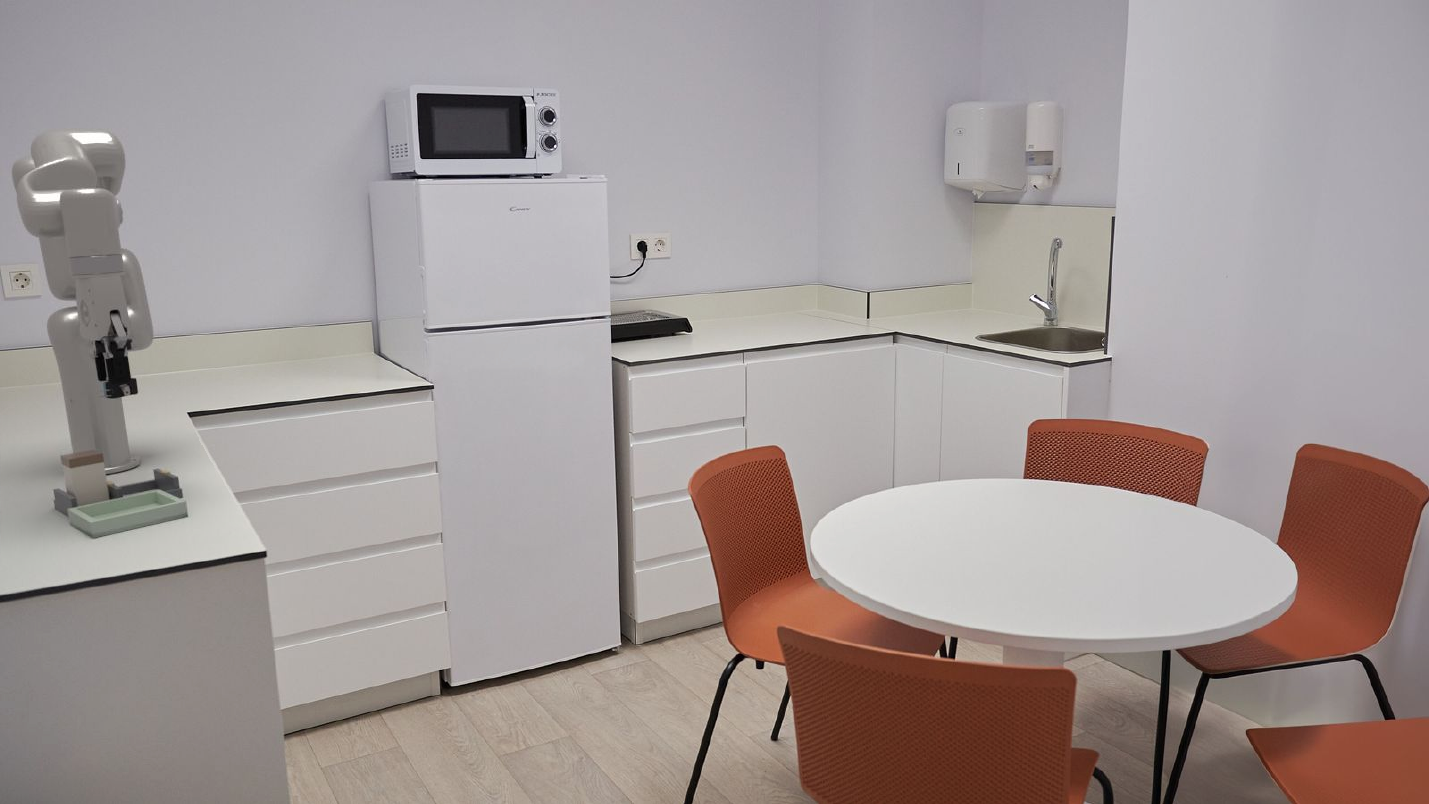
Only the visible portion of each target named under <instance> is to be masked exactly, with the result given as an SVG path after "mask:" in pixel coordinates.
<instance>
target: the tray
mask: <svg viewBox="0 0 1429 804" xmlns="http://www.w3.org/2000/svg"><path fill="white" fill-rule="evenodd" d="M67 510H68V516H67V517H68V521H69V525H70V526H72V527H74V528H75V529H77V530H79V531H80V532H82V533H84V534H86V535H87V536H89V537H90V538H92V539H96V538H101V537H105V536H108V535H109V536H110V535H113V534H117V533H121V532H122V533H123V532H126V531H130V530H131V531H132V530H134V529H139V528H145V527H147V526H152V525H156V524H157V525H158V524H160V523H165V522H169V521H173V520H178V519H183V518H186V517H187V518H188V517H189V513H188V507H187V501H186V500H184V499H182V498H177V497H175V496H173V495H171V494H168V493H166V492H164V491H162V490H160V489H159V490H158V489H156V490H155V489H154V490H150V491H144V492H141V493H140V492H139V493H137V494H130V495H128V496H127V495H125V496H123V497H122V498H117V499H112V500H107V501H103V502H98V503H93V504H88V505H84V506H79V507H74V508H70V509H67Z"/></svg>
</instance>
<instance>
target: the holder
mask: <svg viewBox="0 0 1429 804" xmlns="http://www.w3.org/2000/svg"><path fill="white" fill-rule="evenodd" d="M153 476H154V477H153V479H149V480H144V481H139V482H134V483H130V484H124V485H120V486H118V485H115V482H112V481H110V480H108V481H107V487H108V493H109V499H110V500H112V499H117V498H122V497H124V496H127V495H133V494H135V493H137V494H138V493H140V492H141V493H142V492H147V491H149V490H150V491H152V490H155V489H156V490H159V489H160V490H162V491H164V492H166V493H168V494H171V495H173V496H175V497H177V498H180V499H182V498H184V494H183V489H182V488H181V487H180V482H179V481H180V480H179V476H178V475H174V474H172V473H171V471H168V470H167V469H164V470H163V469H160V468H154V469H153ZM52 490H53V495H54V499H53V504H54V509H55V510H56V511H59V512H60V513H62V514H63V515H66V516H67V517H69V516H68V510H67V509H70V508H74V507H78V506H77V500H76V498H75V497H74V496H72V495H70V494H68V493H67V491H64V490H63V489H61V488H54V489H52Z"/></svg>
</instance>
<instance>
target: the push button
mask: <svg viewBox="0 0 1429 804" xmlns="http://www.w3.org/2000/svg"><path fill="white" fill-rule="evenodd" d="M108 338H115V335H113V336H108ZM131 342H132V340H131V339H127V342H126V345H127V346H126V348H127V350H131V349H132V348H131ZM95 345H96V346H97V351H98V352H102V353H103V355H104V359H108V357H107V353H106V349H105V345H104V341H103V338H102V340H99V342H95ZM110 345H111V347H112V343H110ZM105 366H106V361H105ZM106 373H107V368H106ZM106 380H108V374H107V378H106ZM103 388H104V390H102V391H98V392H103V391H104V396H100V398H102V397H105V398H110V399H115V398H120V397H121V398H123V397H128V396H132V395H134V396H135V395H137V394H138V393H139V389H138V381H137V378H135V377H131V381H128V382H121V383H114V384H111V383H109V380H108V381H107V382H103Z"/></svg>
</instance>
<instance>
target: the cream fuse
mask: <svg viewBox="0 0 1429 804" xmlns="http://www.w3.org/2000/svg"><path fill="white" fill-rule="evenodd" d="M60 460H61V461H60V462H61V466H62V471H63V477H64V483H65V489H66V493H68V494H70V495H72V496H74V497H75V498H76V500H77V506H78V507H79V506H84V505H88V504H93V503H98V502H103V501H107V500H110V499H109V493H108V487H107V482H108V481H107V474H105V468H104V459H103V453H101V452H99V451H96V450H89V451H83V452H78V453H73V452H72V453H66V454H61V455H60Z"/></svg>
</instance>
